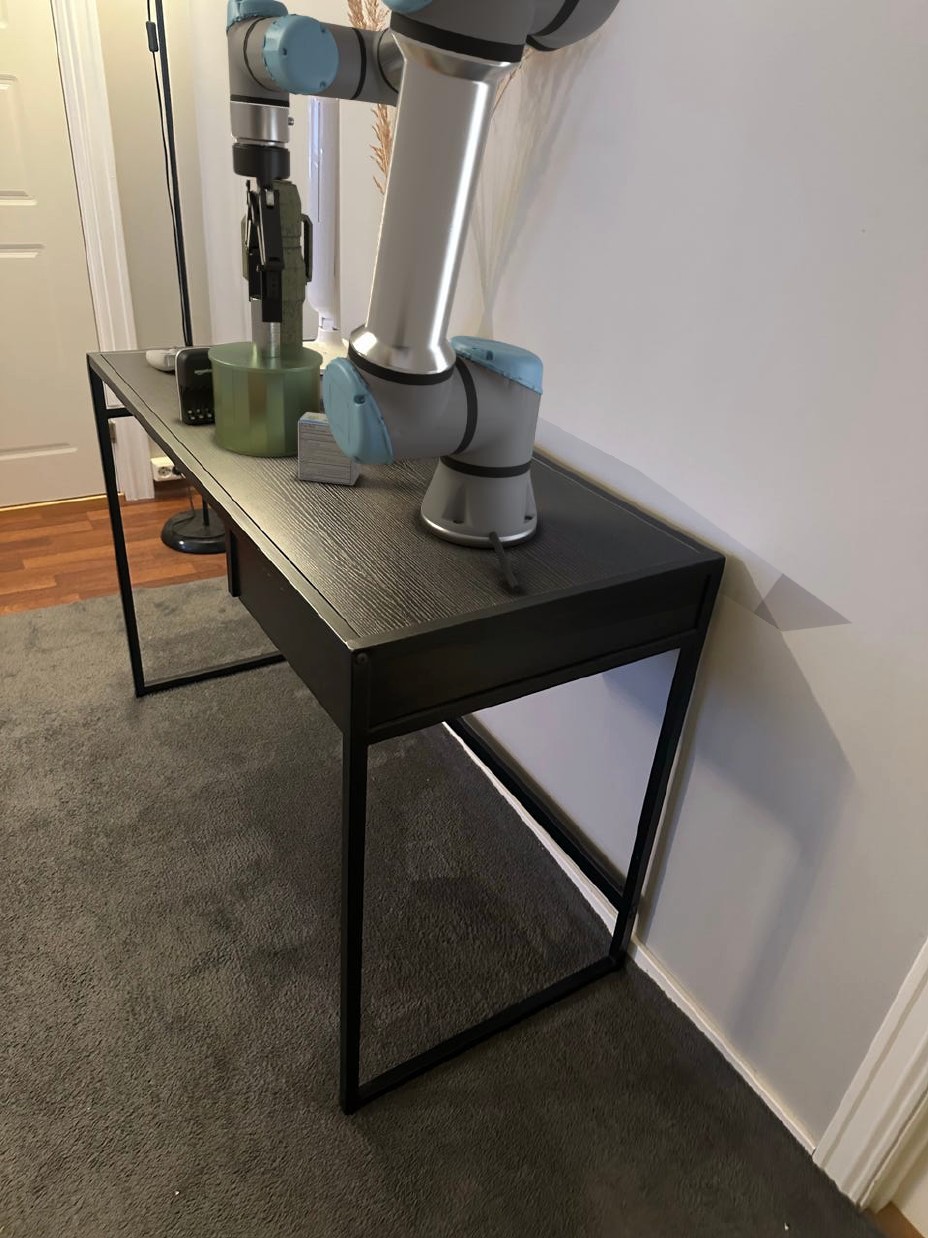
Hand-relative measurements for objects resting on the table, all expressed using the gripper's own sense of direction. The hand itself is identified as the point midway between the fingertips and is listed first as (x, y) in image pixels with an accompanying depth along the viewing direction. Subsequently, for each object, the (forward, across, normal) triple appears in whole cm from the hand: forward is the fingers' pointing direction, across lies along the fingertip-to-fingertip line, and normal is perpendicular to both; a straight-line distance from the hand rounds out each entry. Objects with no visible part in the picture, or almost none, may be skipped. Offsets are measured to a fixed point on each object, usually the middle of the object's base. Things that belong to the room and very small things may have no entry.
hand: (264, 311), depth 120 cm
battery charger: (+19, +9, +9) cm, 23 cm away
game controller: (+20, +42, +9) cm, 47 cm away
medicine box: (+19, -17, -6) cm, 27 cm away
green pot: (+19, 0, 0) cm, 19 cm away
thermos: (+19, +20, -5) cm, 28 cm away
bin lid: (+7, 0, 0) cm, 7 cm away
